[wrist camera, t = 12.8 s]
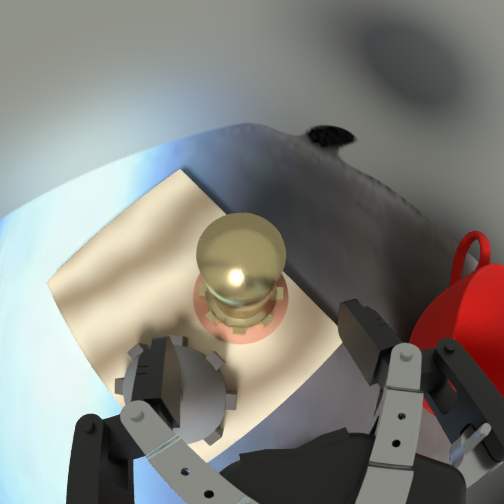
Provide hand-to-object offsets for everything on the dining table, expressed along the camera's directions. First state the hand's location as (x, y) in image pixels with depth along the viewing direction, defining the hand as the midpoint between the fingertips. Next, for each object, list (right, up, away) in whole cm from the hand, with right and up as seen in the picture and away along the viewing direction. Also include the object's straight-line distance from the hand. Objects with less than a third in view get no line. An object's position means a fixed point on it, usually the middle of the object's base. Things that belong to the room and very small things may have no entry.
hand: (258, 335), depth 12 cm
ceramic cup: (+18, -5, +10) cm, 21 cm away
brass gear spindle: (-1, 0, +9) cm, 10 cm away
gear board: (-7, -2, +10) cm, 12 cm away
